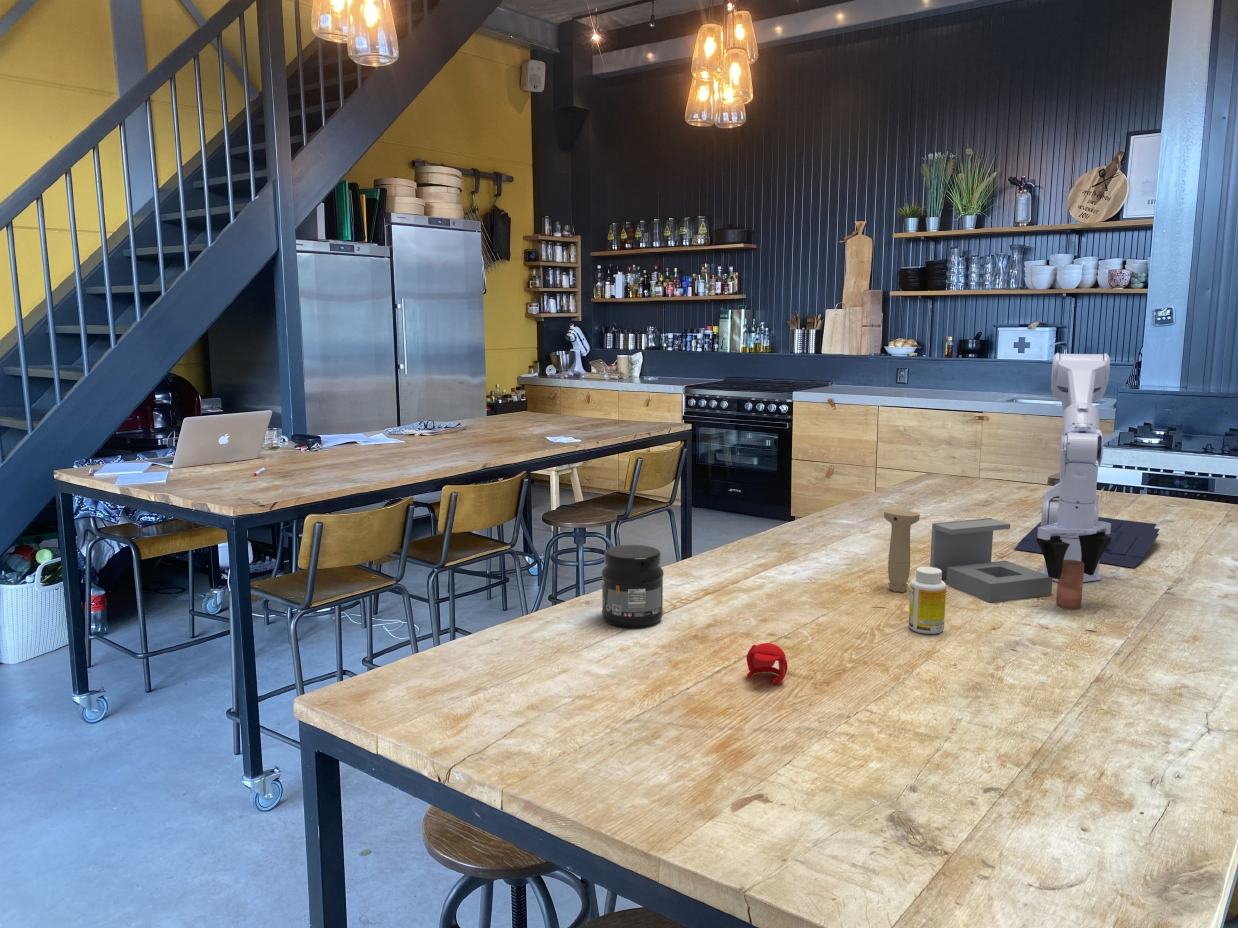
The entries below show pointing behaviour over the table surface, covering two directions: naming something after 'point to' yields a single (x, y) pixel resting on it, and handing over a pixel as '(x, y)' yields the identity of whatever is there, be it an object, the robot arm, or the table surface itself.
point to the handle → (899, 547)
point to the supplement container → (632, 586)
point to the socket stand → (982, 563)
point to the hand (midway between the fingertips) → (1070, 575)
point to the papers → (1112, 541)
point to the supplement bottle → (927, 601)
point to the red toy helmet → (766, 660)
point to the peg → (1070, 585)
